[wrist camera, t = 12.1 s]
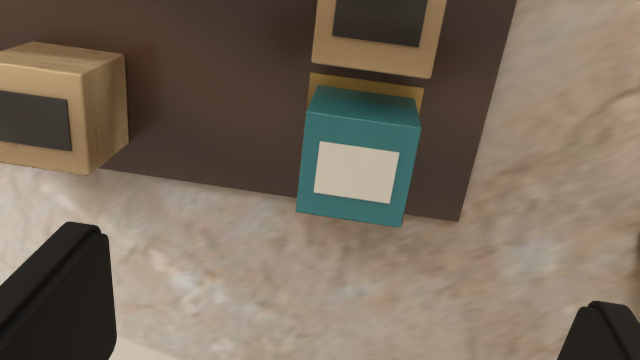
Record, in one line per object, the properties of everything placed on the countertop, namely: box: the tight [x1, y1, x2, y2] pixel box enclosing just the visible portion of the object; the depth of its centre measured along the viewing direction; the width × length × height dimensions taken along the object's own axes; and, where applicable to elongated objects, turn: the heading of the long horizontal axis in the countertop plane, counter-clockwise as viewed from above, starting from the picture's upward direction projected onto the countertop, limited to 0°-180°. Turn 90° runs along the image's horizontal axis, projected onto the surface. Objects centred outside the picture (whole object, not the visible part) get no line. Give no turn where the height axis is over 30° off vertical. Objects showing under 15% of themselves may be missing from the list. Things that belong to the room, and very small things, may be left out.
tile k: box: [0, 41, 129, 176], centre depth 21 cm, size 4×4×4 cm
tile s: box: [296, 85, 422, 228], centre depth 20 cm, size 4×4×4 cm
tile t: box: [311, 0, 447, 79], centre depth 18 cm, size 4×4×4 cm
